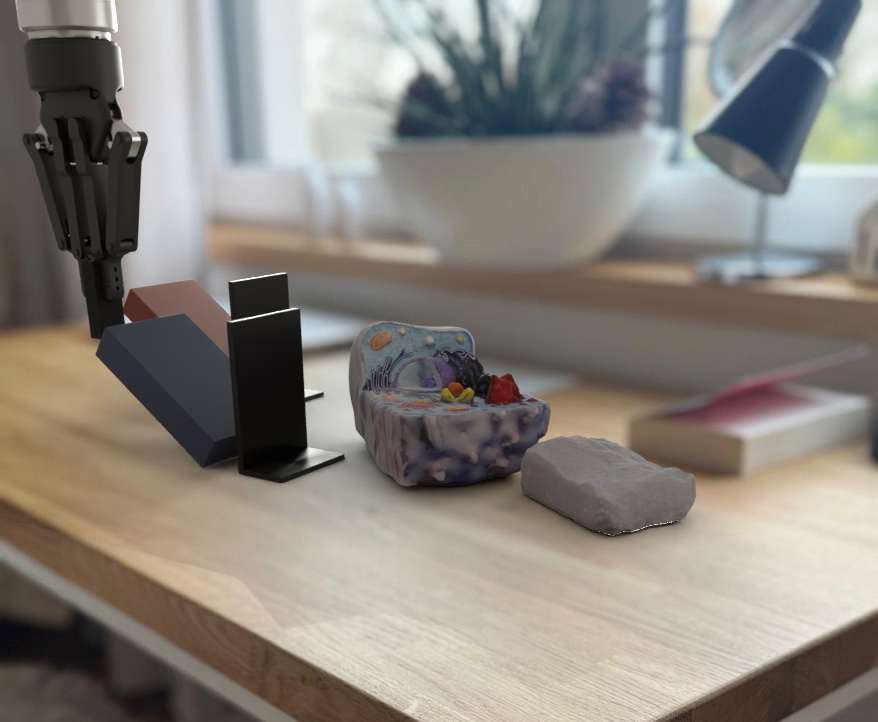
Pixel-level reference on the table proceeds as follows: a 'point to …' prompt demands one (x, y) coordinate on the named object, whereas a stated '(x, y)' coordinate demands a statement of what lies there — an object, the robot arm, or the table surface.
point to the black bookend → (262, 302)
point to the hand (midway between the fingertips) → (108, 336)
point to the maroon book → (180, 307)
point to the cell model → (438, 407)
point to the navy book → (176, 381)
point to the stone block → (604, 484)
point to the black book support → (271, 398)
